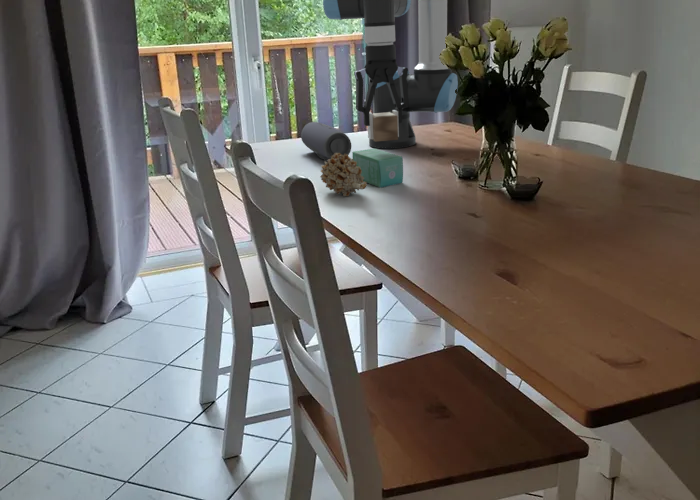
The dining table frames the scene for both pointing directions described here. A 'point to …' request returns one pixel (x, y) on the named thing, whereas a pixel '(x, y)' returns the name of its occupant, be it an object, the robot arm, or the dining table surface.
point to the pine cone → (342, 174)
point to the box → (379, 167)
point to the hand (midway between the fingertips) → (383, 136)
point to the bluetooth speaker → (325, 140)
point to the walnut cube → (385, 126)
